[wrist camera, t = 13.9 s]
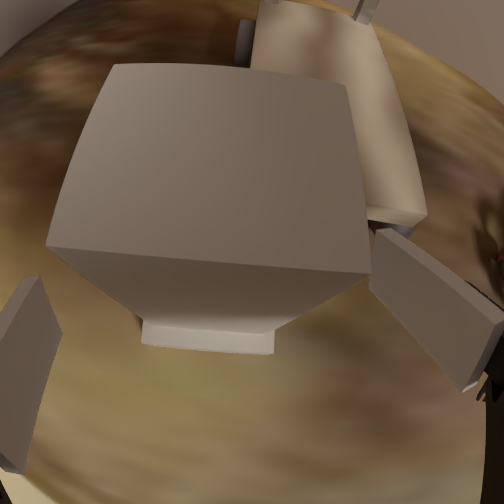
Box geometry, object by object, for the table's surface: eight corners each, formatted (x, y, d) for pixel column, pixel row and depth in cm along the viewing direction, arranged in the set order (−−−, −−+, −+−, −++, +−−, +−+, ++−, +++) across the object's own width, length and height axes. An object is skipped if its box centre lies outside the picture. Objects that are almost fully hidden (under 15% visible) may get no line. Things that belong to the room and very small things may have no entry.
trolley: (359, 70, 28) (430, -80, 10) (390, 256, 21) (612, 72, 3) (237, 47, 27) (266, -129, 9) (208, 236, 20) (233, -139, 2)
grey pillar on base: (271, 242, 21) (356, 67, 8) (267, 354, 18) (397, 328, 5) (161, 233, 20) (109, 45, 7) (147, 345, 18) (13, 295, 5)
